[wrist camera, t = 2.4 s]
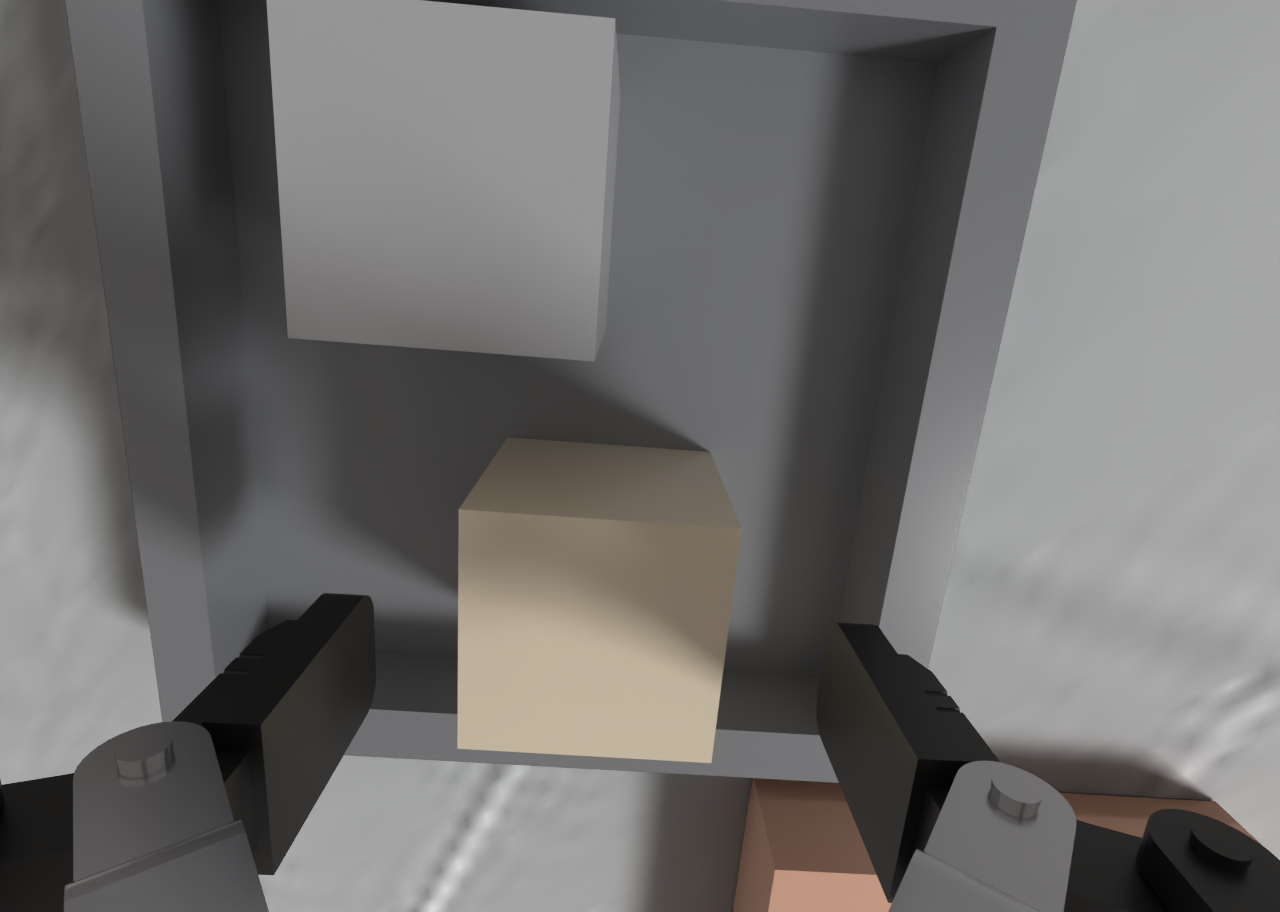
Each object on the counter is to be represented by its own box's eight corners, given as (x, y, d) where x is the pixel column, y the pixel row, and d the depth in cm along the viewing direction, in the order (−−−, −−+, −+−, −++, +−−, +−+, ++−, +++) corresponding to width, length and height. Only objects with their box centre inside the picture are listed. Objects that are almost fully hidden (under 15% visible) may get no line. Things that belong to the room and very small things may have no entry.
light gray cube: (385, 74, 13) (265, -15, 9) (620, 95, 13) (615, 19, 9) (390, 313, 14) (287, 337, 10) (605, 330, 15) (594, 361, 10)
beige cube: (507, 437, 15) (458, 509, 11) (709, 451, 15) (741, 528, 11) (503, 619, 16) (457, 749, 12) (690, 630, 17) (711, 762, 12)
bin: (172, -66, 13) (44, -156, 10) (992, 12, 14) (1088, -54, 11) (242, 664, 18) (166, 744, 15) (858, 702, 18) (902, 786, 15)
